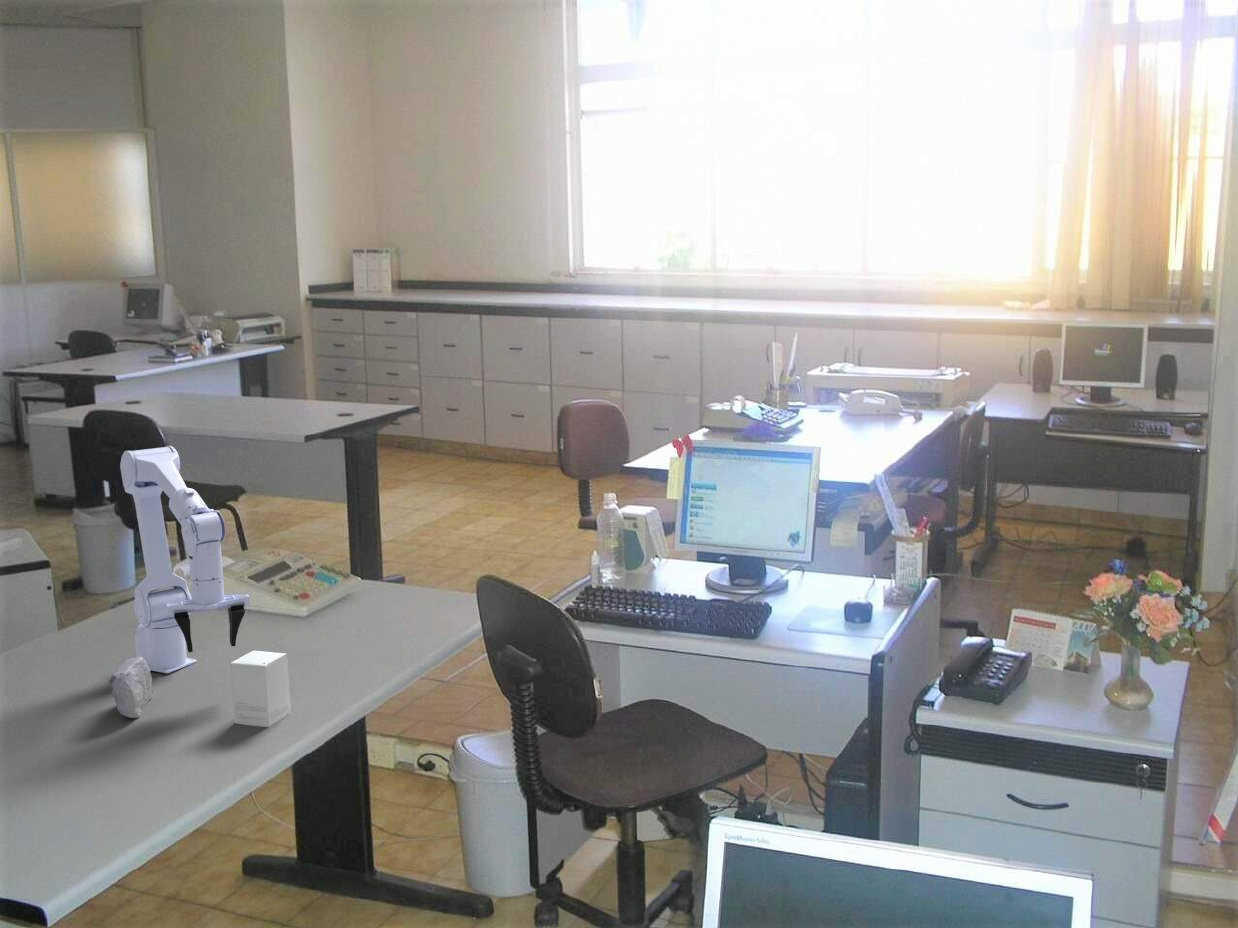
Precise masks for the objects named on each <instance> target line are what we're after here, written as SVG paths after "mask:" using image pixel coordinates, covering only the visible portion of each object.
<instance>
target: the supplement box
mask: <svg viewBox="0 0 1238 928" xmlns="http://www.w3.org/2000/svg"><path fill="white" fill-rule="evenodd" d="M230 673H231V685H232V686H231V688H232V701H233V712H234V723H235V724H238V725H244V726H253V727H261V728H262V727H263V728H271V727H272V726H274V725H275V724H276V723H278V722H279V721H281V720H283V718H284V717H286V716H287V715H289V714H290V713H291V712H292V705H291V704H292V703H291V690H290V677H289V675H290V674H289V663H288V654H287V653H283V652H272V651H262V650H252V651H250V652H248V653H245V654H244V655H243V656H240V657H239V658H237V659H235V660H233V661H231V662H230Z"/></svg>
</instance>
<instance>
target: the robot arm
mask: <svg viewBox="0 0 1238 928" xmlns="http://www.w3.org/2000/svg"><path fill="white" fill-rule="evenodd" d="M119 465H120V466H119V467H120V473H121V479H122V486H123V488H124V492H125V493H127V494H130V495H132V497H133V501H134V506H135V511H136V518H137V523H138V524H137V525H138V530H139V536H140V542H141V548H142V555H143V561H144V567H145V574H146V576H145V577H144V578H143V579H142V580H141V581H140V582H139V583H138V584H137V586H136V587H135V589H134V592H133V593H134V605H133V606H134V615H135V617H136V619H137V621H138V622H139V625H138V626H137V627H136V630H135V634H134V642H135V653H136V655H135V657H139V656H141V657H143V659H144V660H145V661H146V662H147V665H148V667H149V669H150V672H151V671H152V672H158V673H163V674H170V673H172V672H173V673H174V672H175V671H177V670H180V669H183V668H186V667H188V666H191V665H193V664H195V663H197V662H198V661H197V659H195V658H189V657H187V653H193V652H194V651H193V648H194V647H193V642H192V635H191V619H190V615H191V614H192V613H198V612H199V613H200V612H208V611H216V610H223V609H227V611H228V612H227V613H228V623H229V643H230V646H231V647H236V645H237V644H236V642H237V638H238V637H237V636H238V632H239V628H240V625H241V622H242V620H243V618H244V616H245V613H246V609H245V608H248V607H250V606H251V603H250V600H251V598H250V596H249V594H248V593H245V594H244V593H243V594H226V595H225V586H224V585H225V584H224V573H223V572H224V571H223V555H222V543H221V542H223V541H224V540H225V538H226V533H227V529H226V522H225V519H224V517H223V515H222V513H221V511H219V510H214V508H211V509H210V508H209V507H208V506H207V504H206V503H205V501H204V499H202V497H201V496H200V494H199V493H198V492H197V490H195V489H194V488H189V487H187V485H186V483H185V481H184V479H183V477H182V476H181V475H182V474H181V473H180V469H181V460H180V455H179V453H178V451H177V450H176V449H175V447H173V446H172V445H167V446H163V447H155V448H147V449H146V448H145V449H139V450H138V449H137V450H125V451H124V452H123V453H122V455H121V459H120V464H119ZM162 492H163V493H164V494H165V495H166V496H167V497H168V498H169V501H168V508H169V510H170V511H171V513H172V514H173V515H174V517H175V518H176V520H177V521H178V523H179V524H180V525H181V529H180V531H181V535H182V539H183V542H184V547H185V553H186V554H187V555H188V562H189V575H190V576H189V577H190V589H191V590H189V587H188V583H187V580H186V579H184V578H183V577H181V576H179V575H177V574H175V573H174V572H173V568H172V561H171V555H170V549H169V543H168V537H167V531H166V525H165V520H164V519H165V518H164V512H163V507H162V499H161V495H162ZM170 587H171V589H169V588H170ZM165 588H166V589H165ZM167 588H168V589H167ZM162 589H164V590H162ZM155 590H160V591H155ZM152 591H154V592H152ZM190 591H191V593H190Z"/></svg>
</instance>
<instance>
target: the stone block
mask: <svg viewBox="0 0 1238 928" xmlns="http://www.w3.org/2000/svg"><path fill="white" fill-rule="evenodd" d="M152 683H153V677H152V674H151V670H150V669H149V667H148V665H147V662H146V661H145V660H144V659H143V657H141V656H139V657H136V656H135V657H131V658H126V659H124V661H123V662H121V664H120V665H119V666H118V668H116V670H115V671H114V672H113V673H112V674H111V676H110V679H109V681H108V684H109V686H110V688H111V689H110V690H111V694H112V695H113V698H114V701H115V704H116V708H117V711H118V713H119V714H120V715H121V716H124V717H125V718H126V717H127V718H129V719H130V718H131V719H138V718H140V717H141V715H142V713H141V712H142V709H144V707H146V705H147V704H148V703H149V701H150V700H151V699H152V698H153V691H154V690H153V684H152Z"/></svg>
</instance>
